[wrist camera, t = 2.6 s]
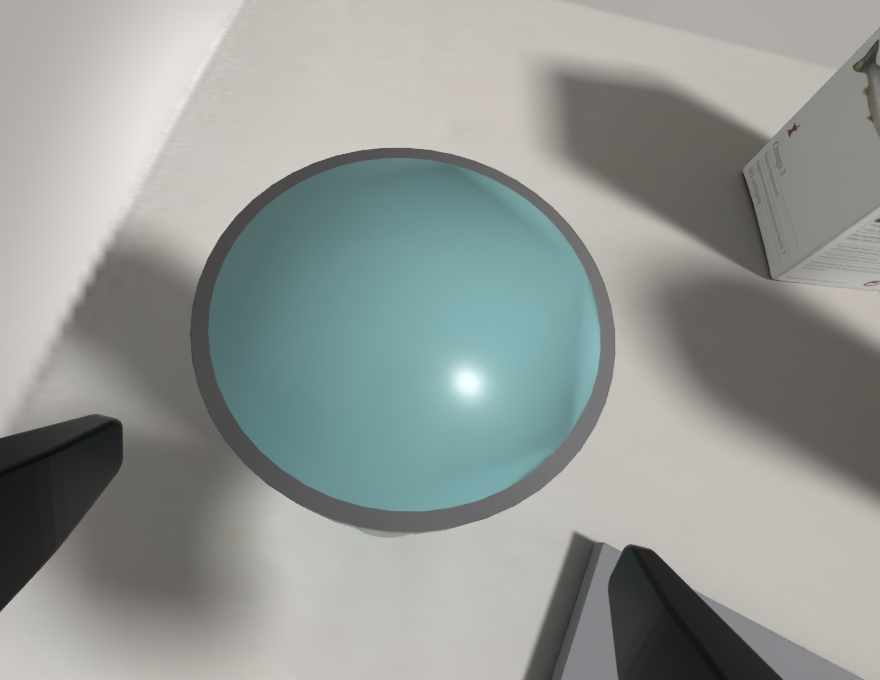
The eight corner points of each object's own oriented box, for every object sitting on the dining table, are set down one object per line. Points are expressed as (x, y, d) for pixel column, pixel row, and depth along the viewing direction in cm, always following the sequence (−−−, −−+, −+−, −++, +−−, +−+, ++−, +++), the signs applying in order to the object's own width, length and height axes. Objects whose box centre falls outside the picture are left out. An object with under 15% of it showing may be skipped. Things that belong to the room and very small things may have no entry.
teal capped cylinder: (422, 572, 17) (524, 629, 5) (288, 498, 17) (85, 386, 5) (485, 435, 19) (661, 246, 7) (365, 373, 19) (341, 96, 7)
